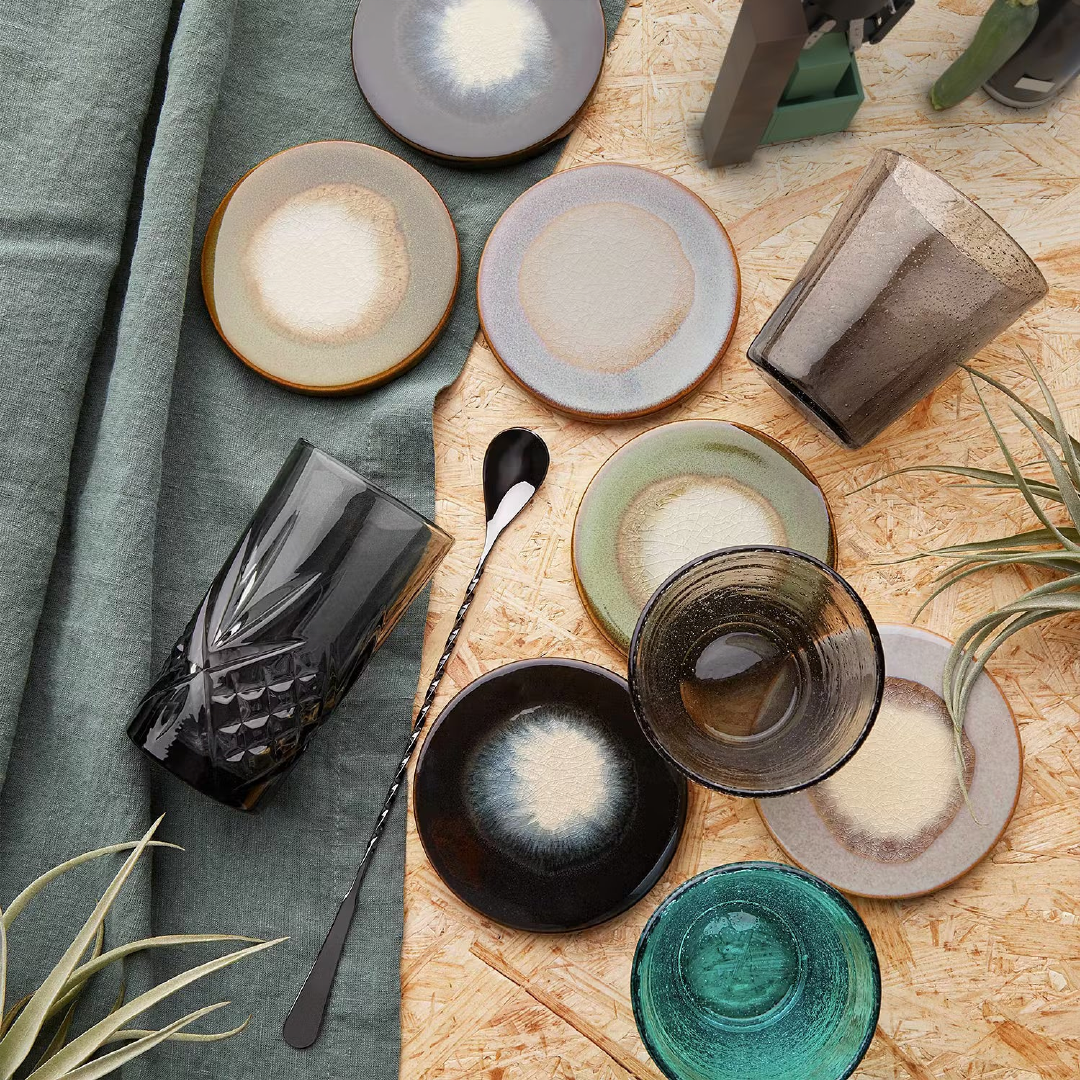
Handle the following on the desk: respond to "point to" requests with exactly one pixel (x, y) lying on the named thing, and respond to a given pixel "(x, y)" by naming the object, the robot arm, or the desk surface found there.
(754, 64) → the stand
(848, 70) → the sage bin
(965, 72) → the vegetable
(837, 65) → the sage block
